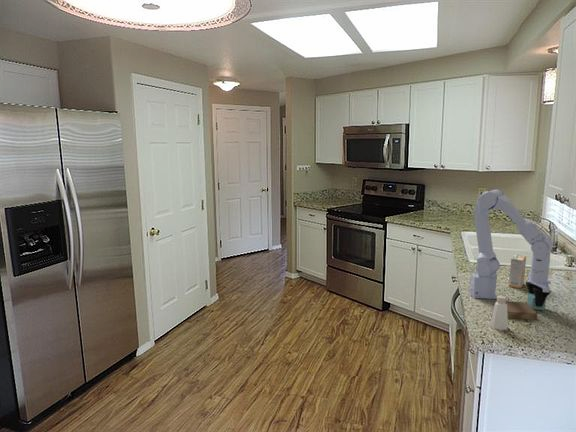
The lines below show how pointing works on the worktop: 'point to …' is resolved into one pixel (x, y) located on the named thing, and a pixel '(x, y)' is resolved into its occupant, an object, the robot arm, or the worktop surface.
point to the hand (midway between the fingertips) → (536, 303)
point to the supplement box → (517, 271)
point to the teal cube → (532, 302)
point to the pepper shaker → (500, 314)
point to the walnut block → (520, 310)
